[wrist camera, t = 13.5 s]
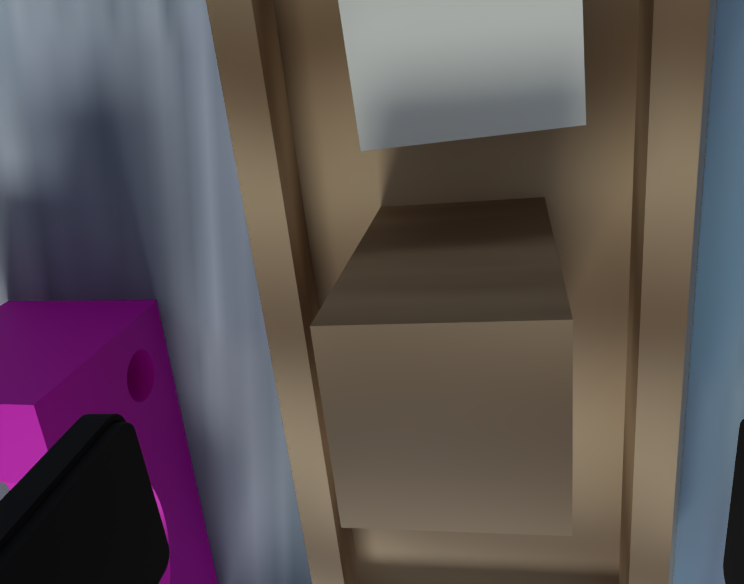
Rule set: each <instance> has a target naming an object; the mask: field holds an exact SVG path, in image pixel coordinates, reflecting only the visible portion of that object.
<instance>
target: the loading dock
mask: <svg viewBox="0 0 744 584" xmlns="http://www.w3.org/2000/svg"><path fill="white" fill-rule="evenodd" d="M716 7H717V0H710V6H709V20H708V34H707V48H706V62H705V76H704V90H703V104H702V119H701V133H700V147H699V161H698V175H697V189H696V203H695V217H694V231H693V245H692V259H691V273H690V287H689V301H688V315H687V329H686V343H685V357H684V371H683V385H682V400H681V414H680V428H679V442H678V456H677V470H676V484H675V498H674V512H673V526H672V540H671V554H670V568H669V582H668V584H673V576H674V562H675V549H676V536H677V523H678V509H679V496H680V483H681V470H682V457H683V443H684V430H685V417H686V404H687V390H688V377H689V364H690V351H691V337H692V324H693V311H694V298H695V285H696V271H697V258H698V245H699V232H700V218H701V205H702V192H703V179H704V165H705V152H706V139H707V126H708V113H709V99H710V86H711V73H712V60H713V46H714V33H715V20H716Z"/></svg>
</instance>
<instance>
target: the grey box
mask: <svg viewBox="0 0 744 584" xmlns="http://www.w3.org/2000/svg"><path fill="white" fill-rule="evenodd" d="M338 3H339V10H340V17H341V23H342V30H343V37H344V43H345V50H346V56H347V63H348V70H349V76H350V83H351V90H352V96H353V103H354V109H355V116H356V123H357V129H358V136H359V143H360V149H361V151H368V150H377V149H385V148H394V147H402V146H411V145H419V144H428V143H437V142H445V141H454V140H462V139H471V138H479V137H488V136H497V135H505V134H514V133H522V132H531V131H539V130H548V129H556V128H565V127H574V126H582V125H586V101H585V68H584V35H583V2H582V0H338Z"/></svg>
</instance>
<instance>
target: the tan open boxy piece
mask: <svg viewBox="0 0 744 584" xmlns="http://www.w3.org/2000/svg"><path fill="white" fill-rule="evenodd" d="M582 2H583V35H584V68H585V101H586V125H582V126H574V127H565V128H556V129H548V130H539V131H531V132H522V133H514V134H505V135H497V136H488V137H479V138H471V139H462V140H454V141H445V142H437V143H428V144H419V145H411V146H402V147H394V148H385V149H377V150H368V151H361V149H360V143H359V136H358V129H357V123H356V116H355V109H354V103H353V96H352V90H351V83H350V76H349V70H348V63H347V56H346V50H345V43H344V37H343V30H342V23H341V17H340V10H339V3H338V0H206V3H207V9H208V14H209V20H210V25H211V30H212V36H213V41H214V47H215V52H216V58H217V63H218V69H219V74H220V80H221V85H222V91H223V96H224V102H225V107H226V113H227V118H228V124H229V129H230V135H231V140H232V146H233V151H234V157H235V162H236V168H237V173H238V179H239V184H240V190H241V195H242V201H243V206H244V212H245V217H246V223H247V228H248V234H249V239H250V245H251V250H252V256H253V261H254V267H255V272H256V278H257V283H258V289H259V294H260V300H261V305H262V311H263V316H264V322H265V327H266V333H267V338H268V344H269V349H270V355H271V360H272V366H273V371H274V377H275V382H276V388H277V393H278V399H279V404H280V410H281V415H282V421H283V426H284V432H285V437H286V443H287V448H288V454H289V459H290V465H291V470H292V476H293V481H294V487H295V492H296V498H297V503H298V509H299V514H300V520H301V525H302V531H303V536H304V542H305V547H306V553H307V558H308V564H309V569H310V575H311V580H312V584H668V582H669V568H670V554H671V540H672V526H673V512H674V498H675V484H676V470H677V456H678V442H679V428H680V414H681V400H682V385H683V371H684V357H685V343H686V329H687V315H688V301H689V287H690V273H691V259H692V245H693V231H694V217H695V203H696V189H697V175H698V161H699V147H700V133H701V119H702V104H703V90H704V76H705V62H706V48H707V34H708V20H709V6H710V0H582Z"/></svg>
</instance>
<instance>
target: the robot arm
mask: <svg viewBox="0 0 744 584" xmlns="http://www.w3.org/2000/svg"><path fill="white" fill-rule="evenodd" d="M169 556H170V549H169V544H168V541H167V537H166V534H165V530H164V527H163V523H162V520H161V517H160V513H159V510H158V506H157V503H156V499H155V496H154V492H153V489H152V486H151V482H150V479H149V475H148V472H147V468H146V465H145V461H144V458H143V455H142V451H141V448H140V444H139V441H138V437H137V434H136V431H135V428H134V426H133V425H132V424H131V423H129V422H126V421H125V419H124V418H123V416H122V415H119V414H85V415H83V416H81V417H80V418H79V419H78V420H77V421H76V422H75V423H74V424H73V425H72V426H71V427H70V428H69V429H68V430H67V431H66V433H65V434H64V435H63V436H62V437H61V438H60V439H59V440H58V441H57V442H56V443H55V444H54V445H53V446H52V447H51V448H50V449H49V450H48V451H47V452H46V453H45V455H44V456H43V457H42V458H41V459H40V460H39V461H38V462H37V463H36V464H35V465H34V466H33V467H32V468H31V469H30V470H29V471H28V472H27V473H26V474H25V476H24V477H23V478H22V479H21V480H20V481H19V482H18V483H17V484H16V485H15V486H14V487H13V488H12V489H11V490H10V491H9V492H8V493H7V494H6V495H5V496H4V498H3V499H2V500H1V501H0V584H159V582H160V580H161V578H162V576H163V574H164V573H165V571H166V568H167V566H168V562H169ZM723 569H724V578H725V583H726V584H744V419H743V420H742V421H741V423H740V428H739V436H738V445H737V453H736V461H735V470H734V478H733V487H732V495H731V503H730V512H729V520H728V528H727V537H726V545H725V554H724V563H723Z"/></svg>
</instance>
